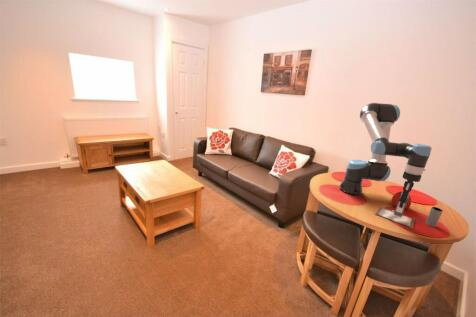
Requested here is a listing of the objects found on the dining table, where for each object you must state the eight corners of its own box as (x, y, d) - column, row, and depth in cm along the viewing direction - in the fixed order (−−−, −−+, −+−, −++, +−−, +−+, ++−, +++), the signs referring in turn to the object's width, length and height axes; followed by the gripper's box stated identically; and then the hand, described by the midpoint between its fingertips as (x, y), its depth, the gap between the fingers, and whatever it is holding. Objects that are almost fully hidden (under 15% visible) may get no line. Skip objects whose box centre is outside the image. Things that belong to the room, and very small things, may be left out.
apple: (399, 202, 143) (403, 188, 140) (413, 210, 133) (418, 196, 130) (386, 202, 141) (391, 188, 138) (399, 211, 131) (405, 196, 128)
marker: (393, 214, 120) (401, 193, 116) (394, 212, 122) (402, 191, 118) (401, 217, 117) (409, 195, 113) (402, 214, 120) (410, 193, 116)
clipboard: (375, 214, 125) (375, 212, 125) (379, 207, 134) (380, 205, 134) (412, 228, 113) (413, 227, 113) (414, 219, 123) (415, 218, 122)
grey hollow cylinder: (423, 222, 121) (429, 206, 118) (430, 222, 121) (436, 206, 118) (430, 226, 117) (437, 211, 114) (438, 227, 117) (445, 211, 114)
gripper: (420, 178, 104) (405, 219, 111) (423, 171, 115) (409, 208, 122) (402, 173, 108) (388, 212, 116) (406, 167, 120) (394, 203, 127)
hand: (399, 210), depth 119 cm, fingers closed on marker, 4 cm apart
